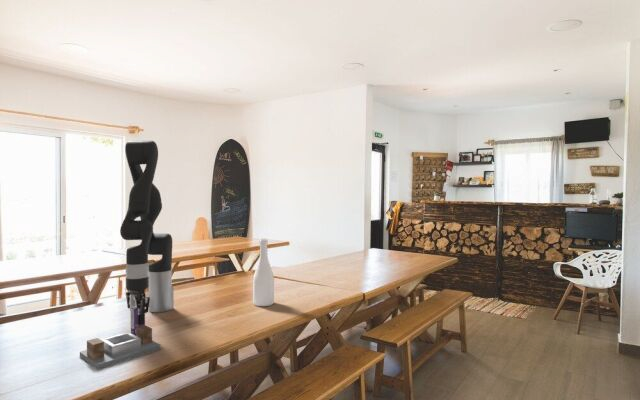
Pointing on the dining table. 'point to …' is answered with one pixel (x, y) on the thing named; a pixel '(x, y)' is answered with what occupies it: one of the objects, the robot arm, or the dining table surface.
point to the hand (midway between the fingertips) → (137, 322)
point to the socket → (121, 343)
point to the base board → (119, 355)
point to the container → (134, 315)
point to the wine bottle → (263, 279)
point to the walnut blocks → (97, 346)
